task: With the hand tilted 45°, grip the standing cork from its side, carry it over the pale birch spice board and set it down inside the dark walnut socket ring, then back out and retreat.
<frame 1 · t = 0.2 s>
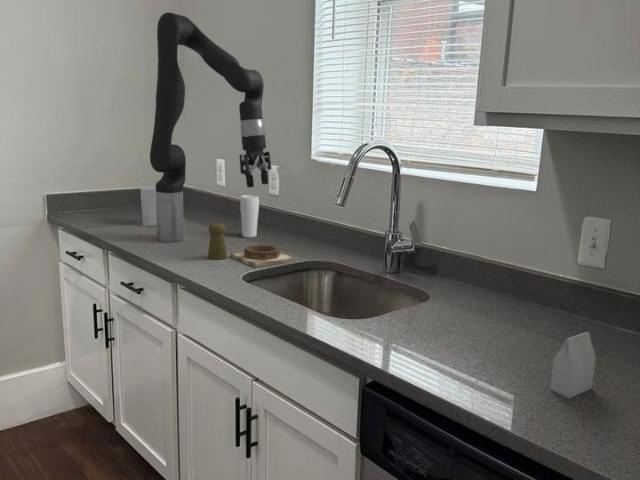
hand: (258, 185, 186), 22 cm above the worktop, tool pointing down, fingers open, 8 cm apart
skincare box: (153, 225, 230), on the worktop
spice board: (262, 259, 183), on the worktop
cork: (217, 258, 183), on the worktop
milk carton: (570, 390, 102), on the worktop
drinking glass: (249, 237, 215), on the worktop
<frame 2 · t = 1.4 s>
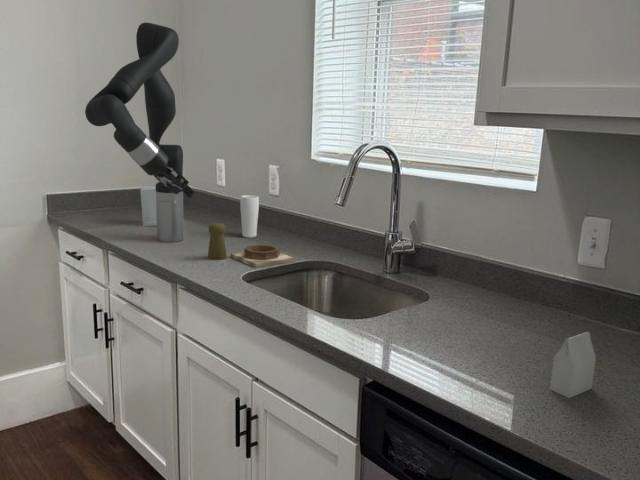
hand: (185, 193, 172), 21 cm above the worktop, tool tilted 45°, fingers open, 8 cm apart
nothing on the worktop moved.
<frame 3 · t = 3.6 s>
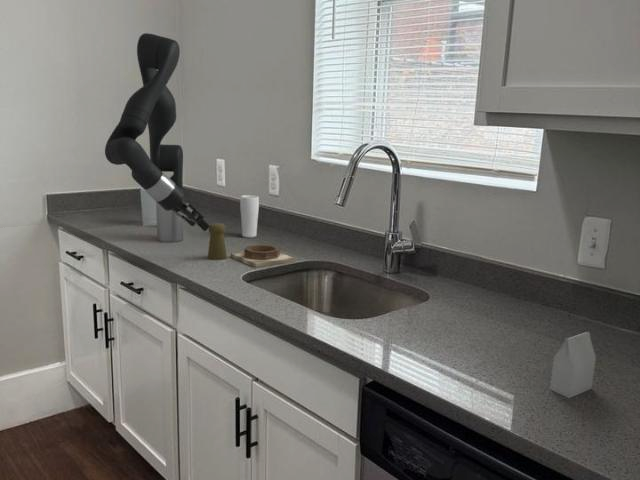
hand: (200, 226, 177), 11 cm above the worktop, tool tilted 45°, fingers open, 8 cm apart
nothing on the worktop moved.
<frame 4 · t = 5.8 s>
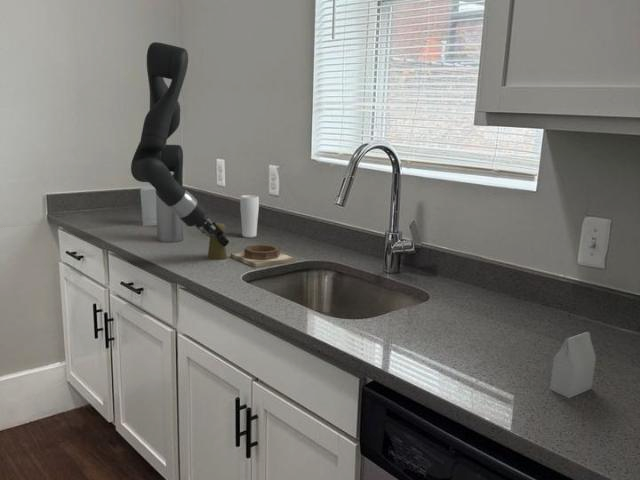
hand: (222, 242, 183), 5 cm above the worktop, tool tilted 45°, fingers closed on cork, 4 cm apart
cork: (217, 258, 183), on the worktop, touching gripper
everything else where it was.
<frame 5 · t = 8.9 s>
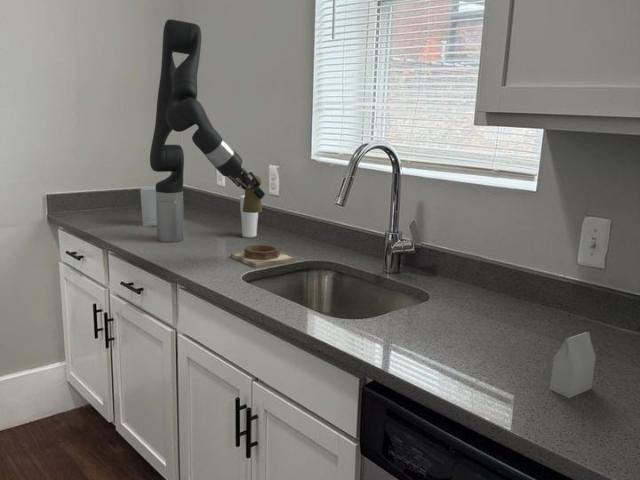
hand: (257, 195, 179), 20 cm above the worktop, tool tilted 45°, fingers closed on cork, 4 cm apart
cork: (252, 211, 178), point 15 cm above the worktop, touching gripper
everything else where it was.
when the fingers open (8 cm above the worktop, at t = 12.4 s): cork drops 2 cm, resting on spice board.
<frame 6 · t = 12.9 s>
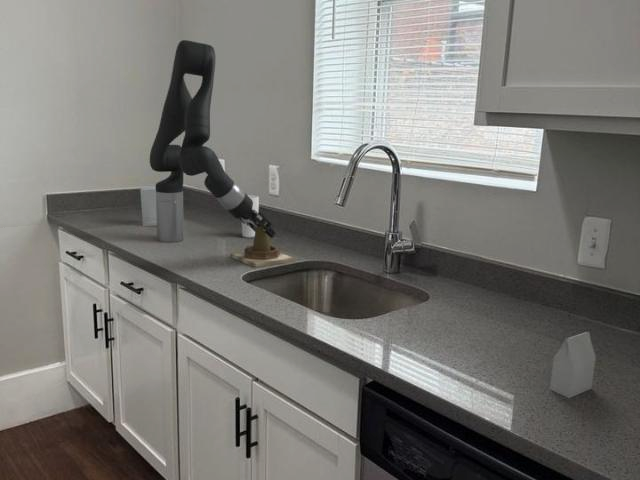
hand: (266, 233, 182), 8 cm above the worktop, tool tilted 45°, fingers open, 8 cm apart
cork: (261, 256, 182), point 1 cm above the worktop, touching spice board
everything else where it was.
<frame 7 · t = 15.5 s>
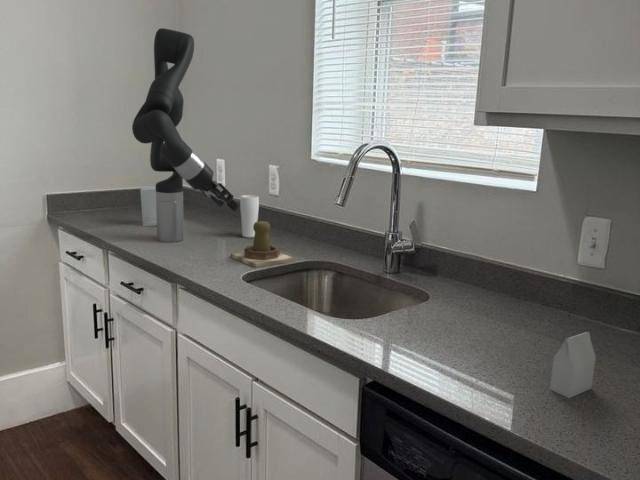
hand: (229, 206, 172), 18 cm above the worktop, tool tilted 45°, fingers open, 8 cm apart
nothing on the worktop moved.
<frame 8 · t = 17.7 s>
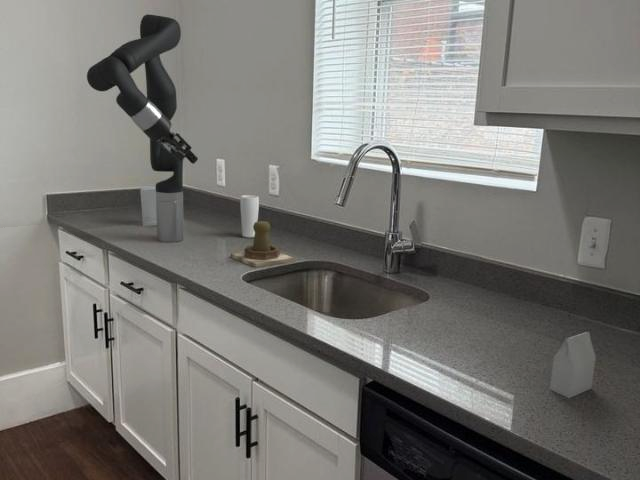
hand: (189, 160, 172), 31 cm above the worktop, tool tilted 45°, fingers open, 8 cm apart
nothing on the worktop moved.
at the end: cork 0.6 cm off-centre on the spice board, point 1.0 cm above the spice board's base; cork tilted 0°; the gripper is holding nothing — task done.
